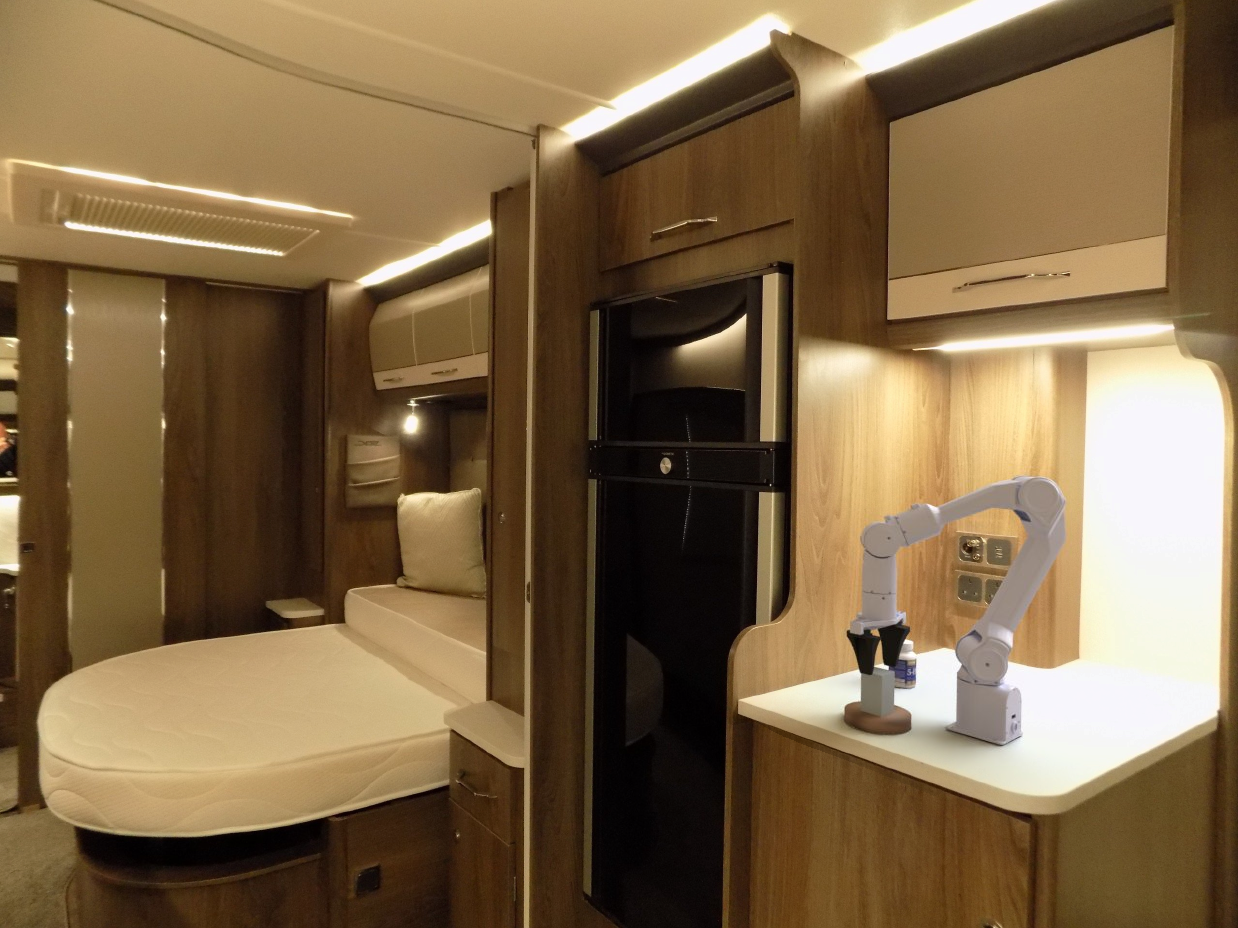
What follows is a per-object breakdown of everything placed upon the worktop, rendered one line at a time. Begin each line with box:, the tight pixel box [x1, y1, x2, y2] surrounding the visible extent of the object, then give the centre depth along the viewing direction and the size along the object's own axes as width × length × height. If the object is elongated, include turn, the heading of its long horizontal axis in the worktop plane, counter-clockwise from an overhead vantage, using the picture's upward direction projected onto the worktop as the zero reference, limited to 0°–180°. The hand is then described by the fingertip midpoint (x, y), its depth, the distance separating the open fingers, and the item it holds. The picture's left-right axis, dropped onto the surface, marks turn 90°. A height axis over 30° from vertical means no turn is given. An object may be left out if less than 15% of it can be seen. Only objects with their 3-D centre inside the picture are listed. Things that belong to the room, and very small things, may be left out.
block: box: [860, 666, 895, 717], centre depth 131 cm, size 4×4×7 cm
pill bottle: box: [887, 639, 917, 689], centre depth 154 cm, size 5×5×9 cm
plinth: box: [843, 700, 913, 736], centre depth 131 cm, size 11×11×2 cm
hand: (878, 669), depth 131 cm, fingers open, 7 cm apart
